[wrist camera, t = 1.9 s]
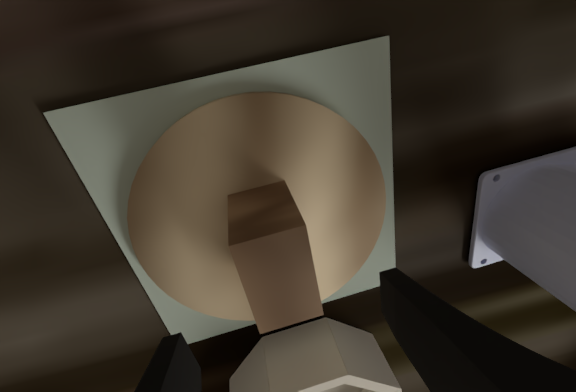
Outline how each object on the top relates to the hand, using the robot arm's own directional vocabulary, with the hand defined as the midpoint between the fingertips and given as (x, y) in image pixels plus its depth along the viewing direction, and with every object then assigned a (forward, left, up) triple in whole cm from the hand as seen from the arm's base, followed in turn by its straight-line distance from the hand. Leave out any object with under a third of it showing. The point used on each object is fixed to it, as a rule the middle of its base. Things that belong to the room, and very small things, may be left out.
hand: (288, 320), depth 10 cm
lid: (0, 0, -7) cm, 7 cm away
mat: (0, 0, -8) cm, 8 cm away
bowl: (0, +16, -8) cm, 18 cm away
